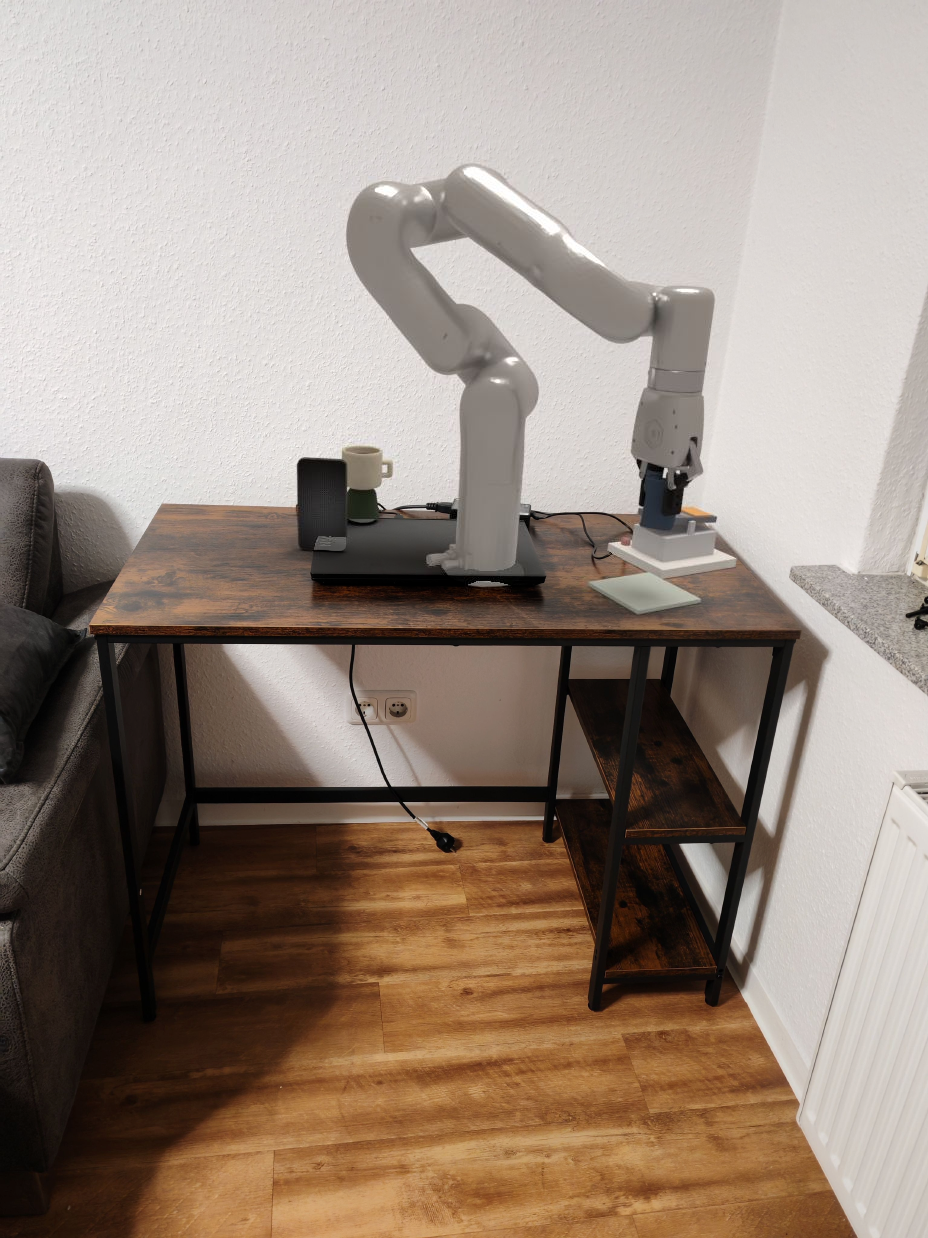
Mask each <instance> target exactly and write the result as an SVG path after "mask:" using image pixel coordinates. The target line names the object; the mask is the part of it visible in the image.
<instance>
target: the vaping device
mask: <svg viewBox="0 0 928 1238" xmlns="http://www.w3.org/2000/svg"><path fill="white" fill-rule="evenodd" d="M664 472H665V468H664V467H661V466H658V465H655V464H652V463H648V469H647V474H646V478H645V484H644V491H645V493H646V495H645V501H644V506H643V507H642V508H643V512H642V516H641V517H640V522H639V523H638V524H639V525H640V526H641V527H645V528H651V529H657V530H664V531H670V530H671V529H672V527H673V526H674V523H675V518H676V515H671V516H663V515H662V513H661V511H662V503H663V495H664V490H665V488H668V471H667V472H666V473H665V477H664ZM679 475H680V473H678V472H676V477H678V476H679Z"/></svg>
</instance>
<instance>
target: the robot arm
mask: <svg viewBox="0 0 928 1238" xmlns="http://www.w3.org/2000/svg"><path fill="white" fill-rule="evenodd" d="M345 237H346V238H345V239H346V249H347V254H348V257H349V261H350V263H351V266H352V268H353V271H354V273H355V274H356V276H357V277H358V279H359V280H360V283H361V284H362V285H363V287H364V288H365V289H366V291H367V292H368V293H369V294H370V296H371V297H372V298H373V300H374V301H375V302H376V304H378V305H379V307H380V308H381V309H382V310H383V311H384V313H385V314H386V315H387V316H388V318H389V319H390V320H391V322H392V323H393V324H394V325H395V327H396V328H397V329H398V331H399V332H400V333H401V334H402V336H403V337H404V339H406V341H407V342H408V343H409V344H410V345H411V347H413V349H414V351H416V352H417V354H418V355H419V356H420V358H421V359H422V360H423V362H425V364H426V365H427V366H428V367H429V369H431V370H432V371H434V372H435V373H437V374H440V375H443V376H453V375H456V376H457V378H459V379H460V380H461V382H462V383H463V384H464V385H465V387H464V389H463V390H462V394H461V395H460V396H461V397H460V402H459V418H458V419H459V433H460V437H459V438H460V448H459V449H460V452H459V454H460V457H459V471H458V472H459V473H458V474H459V475H458V476H459V480H458V495H457V496H458V497H457V510H456V511H457V516H456V531H455V532H456V533H455V543H450V544H449V547H448V548H449V549H448V550H445V551H444V553H443V552H442V553H431V554H427V555H426V557H425V558H426V560H425V561H426V565H427V564H429V565H430V566H434V567H436V566H435V565H441V564H442V565H441V569H442V568H443V569H444V570H447V569H452V568H464V569H465V570H467V569H475V570H479V571H498V570H504V569H507V568H510V567H512V566H513V565H514V564H515V561H516V559H517V550H518V549H517V548H518V547H517V546H518V536H519V535H518V534H519V523H520V522H519V521H520V511H521V502H522V501H521V500H522V491H523V490H522V488H523V474H524V463H525V462H524V461H525V433H526V422H527V421H526V419H527V418H528V417H529V416H531V414H532V412H533V411H534V409H535V408H536V406H537V405H538V404H537V403H538V400H539V395H540V394H539V393H540V388H539V384H538V383H539V382H538V379H537V376H535V374H534V372H533V370H532V369H531V367H530V366H529V365H528V363H527V362H526V361H525V359H523V357H522V356H521V355H520V353H519V351H517V350H516V348H514V346H513V345H512V344H511V342H510V340H509V339H507V337H506V336H505V335H504V334H503V332H502V331H501V329H500V328H499V327H498V326H497V325H496V324H495V323H494V321H493V320H492V319H491V318H490V317H489V316H488V315H487V314H486V313H485V312H483V310H481V309H479V308H478V307H476V306H474V305H471V304H467V303H457V302H456V301H455V300H453V298H452V297H451V296H450V295H449V294H448V293H447V291H446V290H445V289H444V288H443V287H442V286H441V284H440V283H439V281H438V280H437V279H436V278H435V276H434V275H433V274H432V273H431V272H430V270H429V269H428V268H427V267H426V266H425V265H424V264H423V263H422V262H421V261H420V260H419V259H418V258H417V257H416V255H415V254H414V253H413V251H412V248H413V249H414V248H422V247H424V246H425V247H426V246H430V245H435V244H436V245H437V244H441V243H446V242H453V241H456V240H461V239H466V238H469V239H470V240H472V241H473V242H474V243H476V244H477V245H478V246H479V247H482V248H483V249H484V250H486V252H488V253H489V254H491V255H493V256H494V257H495V258H497V259H498V260H499V261H500V262H502V263H503V264H505V265H506V266H507V267H509V268H511V269H512V271H514V272H516V273H517V274H518V275H520V276H521V277H523V278H524V279H525V280H526V281H527V282H528V283H529V284H530V285H531V286H533V288H536V289H537V290H538V291H540V292H541V293H542V294H544V295H545V296H546V297H547V298H548V299H550V300H551V301H552V302H553V303H555V304H556V305H557V306H558V307H559V308H561V309H562V310H563V311H565V312H566V313H567V314H569V315H570V316H571V317H573V318H574V319H576V320H577V321H579V322H580V323H581V324H582V325H584V326H585V327H587V328H588V329H590V331H592V332H594V333H595V334H596V335H598V336H600V337H601V339H604V340H606V341H608V342H611V343H614V344H617V345H618V344H620V345H621V344H622V345H624V344H625V345H626V344H629V343H633V342H634V341H636V340H638V339H639V338H643V337H644V338H645V337H647V338H648V337H652V342H651V349H650V350H651V351H650V359H649V360H650V361H649V365H648V371H647V375H648V377H647V385H646V387H643V390H642V393H641V395H640V399H639V402H638V406H637V411H636V414H635V420H634V425H633V431H632V437H631V445H630V447H631V448H630V454H631V455H632V457H633V458H634V461H636V462H635V463H636V465H637V469H638V477H639V479H641V480H640V486H639V487H640V489H639V497H638V506H639V507H640V508H643V506H644V501H645V495H646V493H645V491H644V484H645V478H646V474H647V469H648V463H652V464H655V465H658V466H661V467H664V469H667V472H668V488H665V490H664V495H663V503H662V511H661V513H662V515H663V516H671V515H678V514H680V513H681V508H682V507H683V500H684V494H685V492H684V491H685V489H686V488H688V487H689V484H690V483H692V481H694V479H696V478H698V477H700V476H701V475H703V474H704V468H703V465H702V461H701V458H700V457H701V455H702V447H703V441H704V440H703V439H704V427H705V398H704V394H703V390H704V381H705V374H706V368H707V363H708V361H707V360H708V353H709V348H710V347H709V346H710V340H711V339H710V338H711V332H712V324H713V319H714V310H715V303H716V299H715V294H714V292H713V291H712V290H711V289H710V288H707V287H703V286H696V285H695V286H694V285H693V286H692V285H668V286H661V285H656V284H649V283H644V282H640V281H636V280H628V279H626V278H625V277H624V276H622V275H621V274H620V273H618V272H616V271H615V270H614V269H613V268H611V267H610V266H608V265H607V264H606V263H604V262H603V261H601V260H600V259H599V258H598V257H596V256H595V255H594V254H592V253H591V252H590V251H588V249H586V247H584V246H583V245H582V244H581V243H580V242H579V241H578V240H577V239H576V238H575V237H574V235H573V234H572V232H571V231H570V229H569V227H567V225H565V224H564V223H563V222H562V221H561V220H559V219H558V218H557V217H556V216H555V215H553V214H551V213H550V212H549V211H548V210H546V209H544V208H543V206H540V205H539V204H537V203H536V202H535V201H533V200H532V199H530V198H528V197H527V196H526V195H524V194H523V193H522V192H521V191H519V190H517V189H516V188H515V187H514V186H512V184H510V183H509V182H508V181H507V179H506V178H505V177H504V176H503V175H502V174H501V173H500V172H499V171H497V170H496V169H494V168H491V167H487V166H485V165H482V164H478V163H464V164H461V165H459V166H457V167H456V168H454V169H453V170H452V171H451V172H450V173H449V174H448V175H447V176H446V177H443V178H440V179H433V180H429V181H423V182H419V183H414V184H407V183H402V182H397V181H391V180H390V181H389V180H383V181H378V182H374V183H371V184H368V186H366V187H365V188H364V189H362V190H361V191H360V192H359V194H358V195H357V196H356V198H355V199H354V200H353V203H352V205H351V208H350V210H349V213H348V216H347V222H346V232H345ZM677 471H679V474H680V475H679V476H678V477H676V473H677ZM443 569H442V570H443ZM444 570H443V571H444ZM468 586H471V587H479V588H487V587H503V586H509V585H508V584H504V583H500V582H491V581H476V582H474V583H471V584H468Z"/></svg>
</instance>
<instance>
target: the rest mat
mask: <svg viewBox="0 0 928 1238" xmlns="http://www.w3.org/2000/svg"><path fill="white" fill-rule="evenodd" d="M587 586H588V587H589V588H591V589H593V590H595V591H596V592H599V593H600V594H602V595H603V596H605V597H607V598H608V599H610V600H612V601H614V602H615V603H617V604H619V605H620V606H622V607H624V608H626V609H627V610H629V611H631V612H633V613H635V614H636V615H642V614H648V613H652V612H656V611H663V610H668V609H674V608H679V607H684V606H690V605H691V606H692V605H695V604H700V603H701V601H702V599H701V598H700V597H698V596H696V595H695V594H693V593H690V592H688V591H686V590H685V589H683V588H680V587H679V586H677V585H674V584H673V583H671V582H669V581H667V580H666V579H661V578H659V577H657V576H655V575H653V574H651V573H649V572H642V573H636V574H629V575H624V576H617V577H611V578H604V579H598V580H597V579H596V580H590V581H588V582H587Z"/></svg>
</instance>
